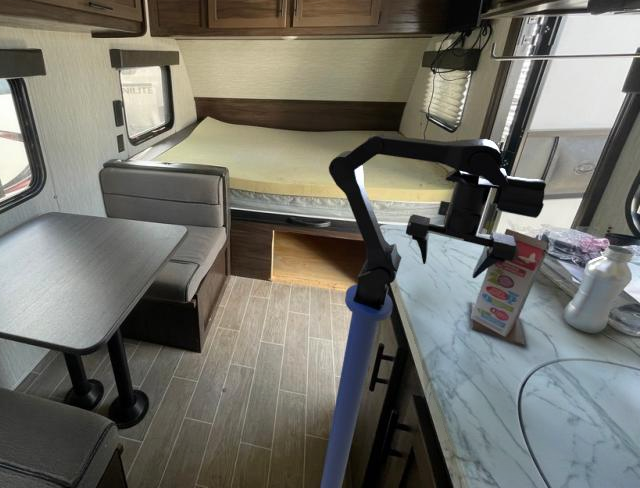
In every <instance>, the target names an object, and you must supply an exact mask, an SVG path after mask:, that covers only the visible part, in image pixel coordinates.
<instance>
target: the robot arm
mask: <svg viewBox="0 0 640 488" xmlns="http://www.w3.org/2000/svg"><path fill="white" fill-rule="evenodd" d="M377 155H381V156H387V157H395V158H402V159H410V160H415V161H424V162H431V163H435V164H436V163H438V164H441V165H444V166H446V167H449V168H451V169H452V170H450V171H448V172H446V174H445V181H446V182H453V183H454V186H453V190H452V193H451V198H450V201H445V200H440V202H439V207H438V210H437V215H438V216H444V219H443V226H442V225H439V224H434V223H430V222H431V217H427V216H423V215H419V214H411V215H410V216H409V219H408V222H407V226H406V229H405V234H406V235H407V236H410V237H411V239H412V240H414V241H416V243H417V246H418V248H419V251H420V256H421V259H422V265H426V262H427V258H428V248H429V237H430V234H432V235H437V236H441V237H445V238H449V239H453V240H456V241H457V240H458V241H462V242H465V243H469V244H474V245H479V246H483V249H482V252H481V254H480V256H479V258H478V261H477V263H476V264H475V266H474V269H473V272H472V275H471V276H472V279H476V278H478V277H479V276H480V275H481V274H482V273H483V272H485V271H487V270H488V268H489V267H490V266H492V265H494V264H495V263H497V262H505V260H510V261H515V260H516V258H517V255H518V251H519V248H518V245H517V242H516V239H515V238H514V237H513V236H510V235H505V233H500V232H495V231H491V232H490V235H489V236H486V235H482V234H478V231H479V228H480V225H481V222H482V218H483V216H484V212H485V210H486V206H487V203H488V200H489V196H490V193H491V189H493V190H492V194H491V198H490V204H491V205H495V209H496V211H497V212H503V213H507V214H513V215H518V216H523V217H528V218H532V219H537V218H538V217H539V216H540V215H541V213H542V211H543V208H544V205H545V204H544V199H545V189H546V187H547V184H546V182H545V180H543V179H536V178H523V177H516V176H511V175H510V176H509V175H508V174H507V171H506V169H505V168H503V167H502V166H501V165H502V153H501V152H500V149H499V147H498V146H497V145H496V143H495V142H494V141H491V140H489V139H487V138H477V139H476V138H475V139H474V138H473V139H458V140H451V141H442V140H431V139H423V138H415V137H406V136H399V135H390V134H389V135H388V134H385V133H381V132H377V133H374V134H372V135H370V137H368V138H367V139H366V140H365V141H364V142H362V143H360V145H358V146H357V147H356V148H354V149H353V150H346V151H345V150H344V151H342V152H341V153H339V154H338V155H337V156H336V157H334V158H333V159H332V160H331V161H330V163H329V165H328V172H329V175H330V177H331V178H332V180H333V181H334V183H335V185H336V187H338V188H339V189H340V190H341V191H342V192H343V193H344V194H345V196H346V199H347V202H348V203H349V207H350V209H351V212H352V215H353V218H354V220H355V222H356V224H357V227H358V230H359V232H360V235H361V238H362V240H363V243H364V245H365V248H366V260H365V262H364V263H363V266H362V268H361V270H360V272H359V274H358V276H357V283H356V284H357V289H356V294H355V296H354V298H353V301H355V302H357V303H360V304H362V305H365V306H368V307H370V308H373V309H376V310H378V311H379V310H380V309H381V306H382V305H384V303H385V300H386V296H387V294H388V292H389V289H390V288H389V286H388V285H390V284H392V283H393V282H394V281H395V280H396V277H397V275H398V271H399V268H400V264H401V261H402V258H403V257H402V256H401V255H400V254H399V252H398V251H399V250H398V247H397V244H396V243H393V244H389V242H388V241H386V239H385V237H384V234H383V232H382V229H381V226H380V223H379V221H378V219H377V217H376V213H375V211H374V208H373V206H372V203H371V201H370V198H369V196H368V192H367V190H366V188H365V180H364V179H365V175H364V168H363V165H364V164H365V163H367V162H368V161H370V160H371V159H372V158H374V157H376V156H377ZM481 177H482V178H481Z"/></svg>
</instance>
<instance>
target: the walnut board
mask: <svg viewBox="0 0 640 488" xmlns="http://www.w3.org/2000/svg"><path fill="white" fill-rule="evenodd" d="M475 303H476V302H471V303H470V313H471V314H472V311H473V308H474V306H475ZM471 314H470V315H471ZM470 319H471V318H470ZM471 329H472V330H474V331H477V332H479V333H482V334H485V335H488V336H490V337H493V338H496V339H498V340H502V341H505V342H508V343H510V344H513V345H516V346H517V347H521V348H525V346H526V343H525V338H524V334H523V329H522V324H521V320H520V317H519V318H518V320H517V322H516V324H515V325H514V327H513V328H512V329H511V330H510V332H509V333H508V334H507V336H506V337H504V336H502V335H500V334H499V333H497V332H495V331H493V330H491V329H490V328H488V327H486V326H484V325H482V324H480V323H479V322H477V321H475V320H473V319H471Z"/></svg>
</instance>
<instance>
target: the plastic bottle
mask: <svg viewBox="0 0 640 488" xmlns="http://www.w3.org/2000/svg"><path fill="white" fill-rule="evenodd" d="M634 254H635V253H634V252H633V251H632V250H629V249H628V248H625V247H622V246H619V245H613V244H609V245H607V246H606V247H605V249H604V250H603V251H602V254H601V255H602V256H598V257H596V258H593V259H591V260H590V261H588V262H587V263H586V264H585V267H584V271H583V275H582V280H581V282H580V285H579V287H578V290H577V292H576V293H575V294H574V296H573V297H572V300H571V301H569V302H568V303H567V305H566V306H565V307H564V308H563V309H564V310H563V315H562V316H563V318H564V320H565V322H566V323H567V324H569V325H570V326H571V327H573V328H575V329H576V330H578V331H581V332H584V333H588V334H598V333H602V331H604V329H606V327H607V326H608V322H609V317H610V313H611V311H612V308H613V305H614V303H616V300H617V299H618V297H619V296H620V294H621V293H622V292H623V291H624V290H625V288H626V287H627V286H628V285H629V284H630V283H631V281H632V280H633V277H632V276H633V274H632V271H631V268H630V267H629V265H628V264H629V263H631V261H632V258H633V257H634Z"/></svg>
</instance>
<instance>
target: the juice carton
mask: <svg viewBox="0 0 640 488" xmlns="http://www.w3.org/2000/svg"><path fill="white" fill-rule="evenodd" d="M504 234H505V235H510V236H513V237H514V238H515V239H516V242H517V245H518V248H519V251H518V255H517V258H516V260H515V261H510V260H505V262H497V263H495V264H494V265H492V266H490V267H489V268H487V269H486V272H485V275H484V278H483V280H482V284H481V286H480V289H479V292H478V295H477V298H476V300H475V302H474V303H475V306H474V308H473V311H472V314H470V316H469V318H470V319H473V320H475V321H477V322H479V323H480V324H482V325H484V326H486V327H488V328H490V329H491V330H493V331H495V332H497V333H499V334H500V335H502V336H504V337H506V336H507V334H508V333H509V332H510V330H511V329H512V328H513V327H514V325H515V324H516V322H517V320H518V318H519V319H520V316H521V314H522V311H523V308H524V306H525V305H526V302H527V299H528V297H529V296H530V293H531V290H532V287H533V286H534V283H535V280H536V279H537V277H538V274H539V272H540V269H541V267H542V264H543V262H544V261H545V258H546V255H547V253H548V250H547V247H548V242H547V241H544V240H541V239H539V238H535V237H533V236H530V235H528V234H527V235H526V234H523V233H521V232H518V231H515V230H512V229H509V228H506V229H505V231H504Z"/></svg>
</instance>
